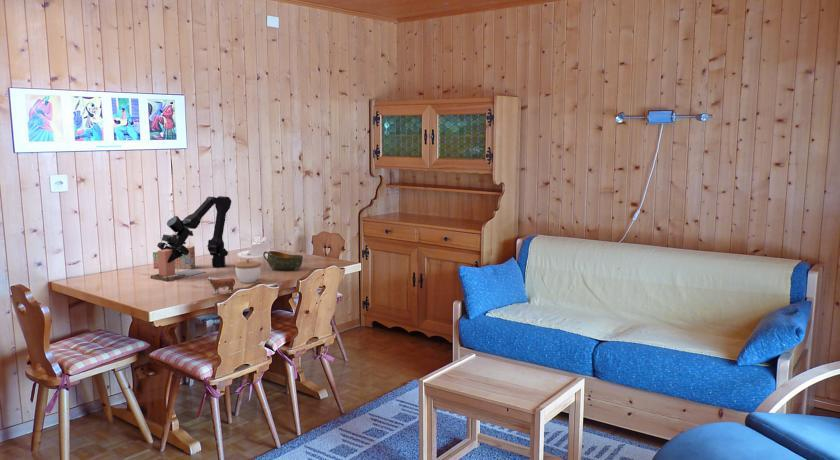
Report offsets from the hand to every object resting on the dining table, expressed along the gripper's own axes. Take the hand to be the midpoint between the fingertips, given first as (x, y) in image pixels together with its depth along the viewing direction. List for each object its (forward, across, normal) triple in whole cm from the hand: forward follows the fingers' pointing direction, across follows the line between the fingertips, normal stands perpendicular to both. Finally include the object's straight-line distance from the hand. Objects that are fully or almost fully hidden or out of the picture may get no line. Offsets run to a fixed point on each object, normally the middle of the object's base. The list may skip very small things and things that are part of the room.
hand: (164, 262), depth 340 cm
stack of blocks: (-8, -18, +21) cm, 29 cm away
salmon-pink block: (+4, 0, +6) cm, 7 cm away
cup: (-28, +36, +41) cm, 62 cm away
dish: (-46, -8, +60) cm, 76 cm away
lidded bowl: (-6, +41, +19) cm, 45 cm away
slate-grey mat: (-5, 0, +17) cm, 18 cm away
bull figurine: (+12, +49, +1) cm, 50 cm away
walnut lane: (+5, 0, +7) cm, 9 cm away
